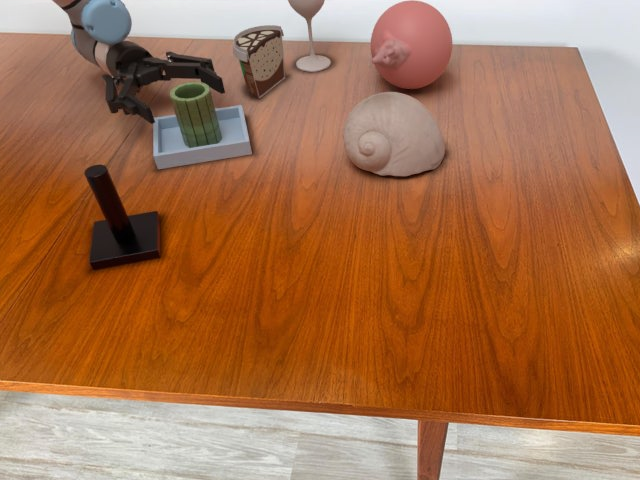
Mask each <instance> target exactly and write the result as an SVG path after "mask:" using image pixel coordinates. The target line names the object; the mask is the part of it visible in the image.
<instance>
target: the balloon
mask: <svg viewBox="0 0 640 480" xmlns="http://www.w3.org/2000/svg"><path fill="white" fill-rule="evenodd" d="M452 53H453V36H452V31H451V28H450V25H449V23H448V22H447V19H446V18H445V16H444V15H443V13H441V12H440V10H438V9H437V8H436V7H434V6H433V5H431V4H429V3H427V2H424V1H421V0H404V1H400V2H397V3H395V4H393V5H392V6H390V7H388V8H387V9H386V10H385V11H384V12H382V14H381V15H380V16H379V18H378V19H377V21H376V23H375V24H374V27H373V29H372V33H371V36H370V54H371V63H372V64H373V65H374V67H375V68H376V70H377V72H378V73H379V74H380V75H381V77H382V78H383V79H384V80H385V81H386V82H388V83H389V84H391V85H393V86H395V87H397V88H401V89H406V90H416V89H422V88H424V87H426V86H429V85H430V84H432V83H434V82H435V81H436V80H438V79H439V78H440V76H441V75H443V73H444V71H445V70H446V69H447V67H448V65H449V63H450V60H451V57H452Z"/></svg>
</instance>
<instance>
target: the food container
mask: <svg viewBox="0 0 640 480" xmlns="http://www.w3.org/2000/svg"><path fill="white" fill-rule="evenodd" d="M283 37H285V34H284V30H283V28H282V26H281V25H275V24H274V25H273V24H272V25H271V24H267V25H257V26H253V27H249V28H246V29H244V30H242V31H240V32H238V33H237V34H236V35H235V36H234V38H233V41H232V42H233V43H232V54H233V55H234V57H235V58H236V59H238V62H239V66H240V68H241V73H242V74H243V79H244V83H245V86H246V90H247V92H248V94H249V95H250V96H251V97H252V98H255V99H258V100H260V99H261V98H262V97H264V96H265V95H267V93H269V92H271V90H273V89H274V88H275V87H276V86H277V85H279V84H280V83H282V81H284V80H285V79H286V67H285V55H284V43H283Z"/></svg>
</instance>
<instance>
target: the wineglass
mask: <svg viewBox="0 0 640 480" xmlns="http://www.w3.org/2000/svg"><path fill="white" fill-rule="evenodd" d="M287 2H288V4H289V6H290V7H291V9H293V10H294V12H295V13H297V14H298V15H299V16H300V17H302V18H304V20H305V21H306V24H307V32H308V43H309V49H310V50H309V51H310V52H309V53H310V54H309V55H306V56H303V57H300V58H299V59H298V60H297V61H296V64H295V66H296V68H297V69H298V70H300V71H302V72H307V73H311V72H312V73H314V72H321V71H325V70H326V69H328V68H329V67H330V66H331V65H332V64H331V63H332V61H331V59H330V58H329V57H327V56H324V55H319V54H317V55H316V54H315V49H314V39H313V28H312V20H313V18H314V17H315V16H317V14H318V13H319V12H320V10H321V9H322V7H323V6H324V4H325V0H287Z"/></svg>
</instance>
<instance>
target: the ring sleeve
mask: <svg viewBox="0 0 640 480" xmlns="http://www.w3.org/2000/svg"><path fill="white" fill-rule="evenodd" d="M169 98H170V101H171V105H172V107H173V111H174V115H176V118H177V121H178V124H179V127H180V131H181V134H182V137H183V141H184V144H185V145H186V146H187V147H189V148H193V147H199V146H206V145H212V144H218V143H219V142H220V141H221V140H222V135H221V130H220V126H219V122H218V118H217V114H216V110H215V109H216V106H215V103H214V99H213V95H212V91H211V88H210V87H209V85H207V84H205V83H203V82H201V81H188V82H182V83H180V84H177V85H176V86H174V87H173V88H172V89H171V90H170V91H169Z"/></svg>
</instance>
